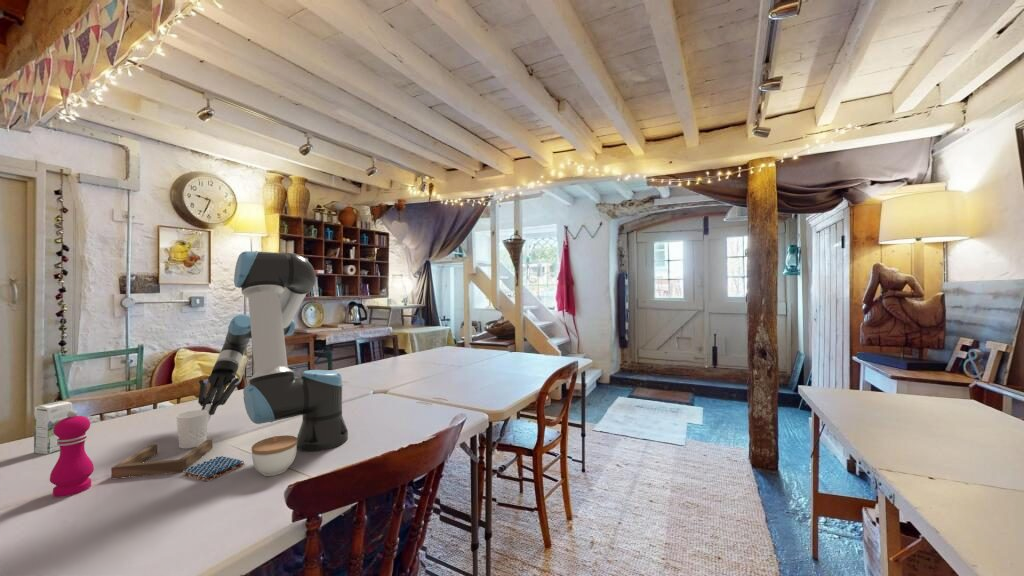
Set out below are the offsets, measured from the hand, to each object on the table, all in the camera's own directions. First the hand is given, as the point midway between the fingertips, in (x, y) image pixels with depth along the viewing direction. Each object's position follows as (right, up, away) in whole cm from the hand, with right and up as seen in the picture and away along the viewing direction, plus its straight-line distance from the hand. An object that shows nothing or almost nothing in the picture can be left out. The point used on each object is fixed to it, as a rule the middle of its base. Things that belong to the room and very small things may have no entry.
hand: (203, 423), depth 129 cm
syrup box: (-38, -5, -10) cm, 40 cm away
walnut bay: (+5, -4, -19) cm, 20 cm away
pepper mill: (-5, -5, -34) cm, 35 cm away
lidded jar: (+40, -5, -24) cm, 47 cm away
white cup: (+2, -5, -6) cm, 8 cm away
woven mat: (+23, -5, -24) cm, 33 cm away
